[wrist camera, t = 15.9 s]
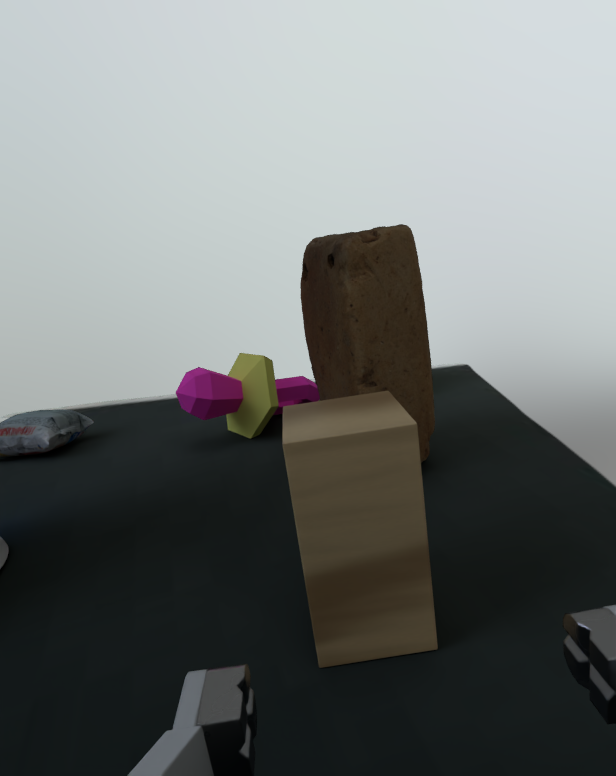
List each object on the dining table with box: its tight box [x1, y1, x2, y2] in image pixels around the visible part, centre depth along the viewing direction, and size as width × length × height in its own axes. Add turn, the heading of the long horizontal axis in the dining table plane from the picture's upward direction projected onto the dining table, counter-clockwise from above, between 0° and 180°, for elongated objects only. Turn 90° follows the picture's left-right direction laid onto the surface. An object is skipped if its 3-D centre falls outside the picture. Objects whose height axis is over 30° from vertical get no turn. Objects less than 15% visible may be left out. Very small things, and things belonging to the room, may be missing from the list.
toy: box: [176, 353, 320, 439], centre depth 56 cm, size 10×18×10 cm, turn 126°
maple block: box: [283, 391, 438, 668], centre depth 23 cm, size 6×6×11 cm
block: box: [301, 224, 435, 463], centre depth 41 cm, size 11×8×20 cm
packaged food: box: [0, 410, 94, 457], centre depth 61 cm, size 9×12×5 cm
